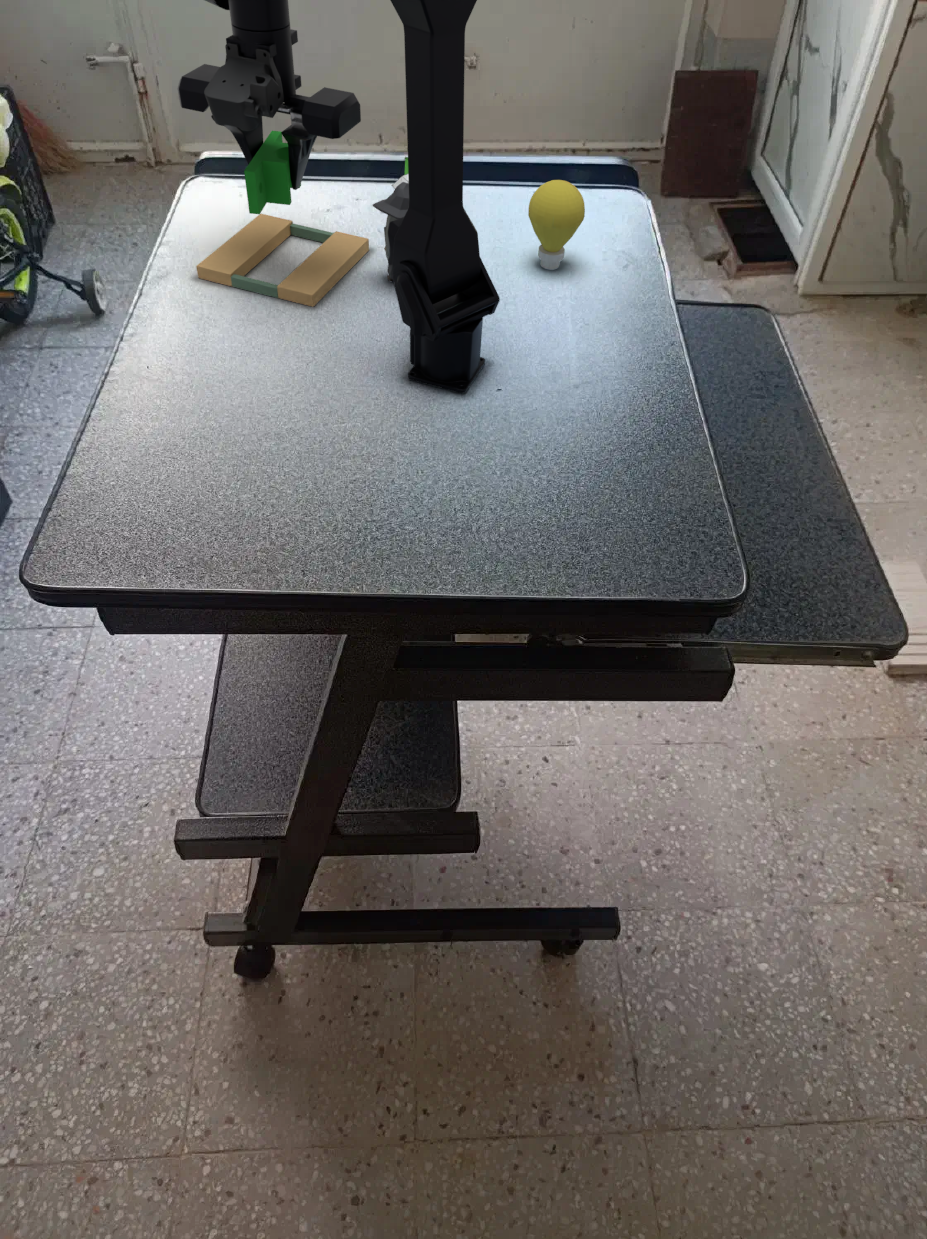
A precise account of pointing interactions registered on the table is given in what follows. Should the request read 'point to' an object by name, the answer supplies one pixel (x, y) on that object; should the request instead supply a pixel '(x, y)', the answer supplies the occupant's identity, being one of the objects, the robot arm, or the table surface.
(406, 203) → the wizard figurine
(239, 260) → the square wooden frame
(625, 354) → the table surface
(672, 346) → the table surface
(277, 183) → the pipe clamp
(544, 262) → the light bulb
